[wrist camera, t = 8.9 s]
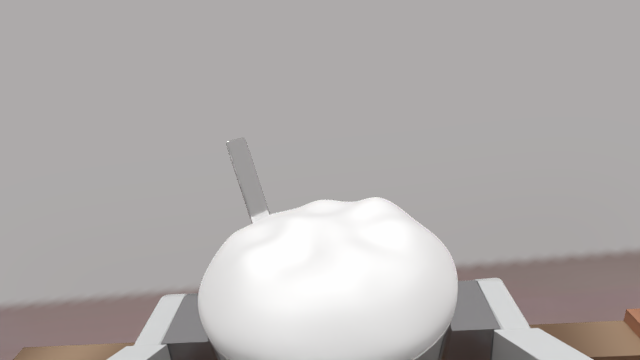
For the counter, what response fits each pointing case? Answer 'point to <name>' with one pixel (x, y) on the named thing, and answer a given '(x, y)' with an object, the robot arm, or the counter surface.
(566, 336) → the rail guide
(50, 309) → the counter surface
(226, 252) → the milkshake
